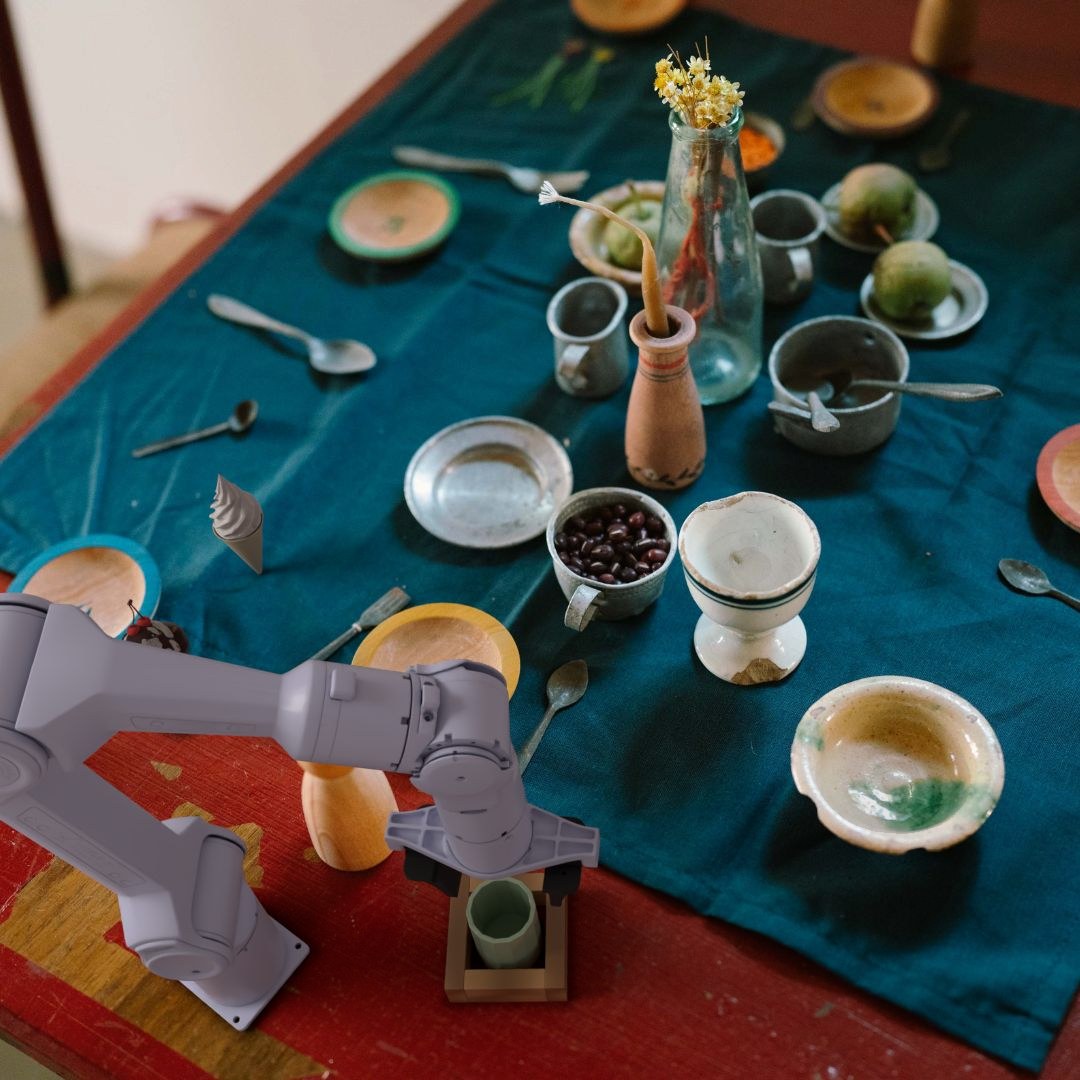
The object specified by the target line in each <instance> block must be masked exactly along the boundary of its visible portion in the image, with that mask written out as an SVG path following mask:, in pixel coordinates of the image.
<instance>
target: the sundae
mask: <svg viewBox="0 0 1080 1080" xmlns="http://www.w3.org/2000/svg"><path fill="white" fill-rule="evenodd" d="M133 601H134V600H133V598H132V599H131V598H129V599H128V601H127V602H126V605H127V606H128V607H129V609H130V610H131V612H132V623H131V624H130V625H128V626H127V627H126V632H125V633H124V634H123V635H122V637H121V638H120V639H121V640H125V641H130V642H134V643H139V644H144V645H148V646H153V647H157V648H162V649H166V650H171V651H175V652H180V653H184V654H189V652H190V641H189V638H188V636H187V634H186V632H185V630H184V629H183V628H182V627H181V626H180V625H178V624H177V623H175V622H171V621H159V620H152V619H151V618H150V617H149V616H148V615H147V616H146V615H142V614H141V612H140V611H138V610H137V608H136V607H135V606H134V605H133ZM134 611H135V612H136V614H137V615H138V616H139V617H138V618H137V619H136V618H135V612H134ZM135 620H136V622H135ZM176 734H178V735H179V734H180V735H181V734H182V733H176Z"/></svg>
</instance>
